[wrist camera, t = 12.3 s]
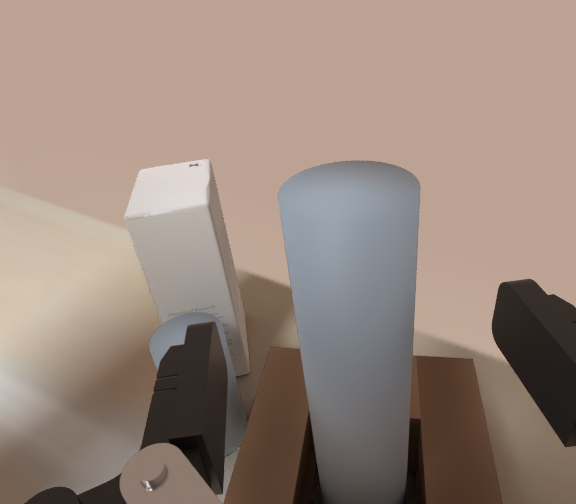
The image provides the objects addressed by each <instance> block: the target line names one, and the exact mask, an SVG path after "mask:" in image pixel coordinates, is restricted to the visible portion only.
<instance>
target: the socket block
mask: <svg viewBox="0 0 576 504" xmlns="http://www.w3.org/2000/svg"><path fill="white" fill-rule="evenodd" d="M316 461H317V460H316V453H315V446H314V439H313V433H312V426H311V419H310V412H309V406H308V399H307V392H306V385H305V379H304V372H303V365H302V358H301V352H300V349H292V348H274V347H270V350H269V353H268V356H267V360H266V363H265V366H264V370H263V373H262V376H261V380H260V383H259V386H258V390H257V393H256V396H255V400H254V403H253V406H252V410H251V413H250V416H249V420H248V423H247V427H246V430H245V433H244V437H243V440H242V443H241V447H240V450H239V453H238V457H237V460H236V463H235V467H234V470H233V473H232V477H231V480H230V483H229V487H228V490H227V493H226V497H225V500H224V503H223V504H310V497H311V490H312V483H313V476H314V469H315V462H316ZM407 471H412V472H416V478H417V497H418V504H503V502H502V498H501V493H500V488H499V483H498V478H497V474H496V469H495V464H494V459H493V454H492V450H491V445H490V440H489V435H488V430H487V425H486V421H485V416H484V411H483V406H482V401H481V397H480V392H479V387H478V382H477V377H476V373H475V368H474V363H473V359H463V358H446V357H429V356H412V377H411V398H410V420H409V441H408V462H407Z"/></svg>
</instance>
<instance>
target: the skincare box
mask: <svg viewBox="0 0 576 504" xmlns="http://www.w3.org/2000/svg"><path fill="white" fill-rule="evenodd" d="M124 221H125V223H126V226H127V229H128V232H129V234H130V237H131V240H132V243H133V245H134V248H135V251H136V253H137V256H138V259H139V262H140V264H141V267H142V270H143V273H144V276H145V278H146V281H147V284H148V287H149V289H150V292H151V295H152V298H153V300H154V303H155V306H156V309H157V311H158V314H159V317H160V319H161V322H162V324H164V323H165V322H166V321H168V320H170V319H172V318H174V317H176V316H179V315H182V314H186V313H191V312H203V313H208V314H211V315H213V316H215V317H216V318H218V319H219V320H220V322H221V323H222V326H223V330H224V334H225V337H226V341H227V345H228V349H229V353H230V357H231V361H232V365H233V369H234V373H235V376H241V375H245V374H249V373H250V363H249V352H248V342H247V332H246V322H245V312H244V307H243V302H242V298H241V293H240V289H239V284H238V280H237V276H236V271H235V267H234V263H233V258H232V254H231V250H230V245H229V241H228V236H227V231H226V227H225V223H224V218H223V214H222V209H221V205H220V200H219V195H218V190H217V186H216V182H215V177H214V173H213V169H212V165H211V161H210V160H209V159H205V160H197V161H191V162H184V163H178V164H171V165H165V166H158V167H152V168H147V169H142V170H140V171H139V173H138V176H137V179H136V182H135V185H134V188H133V191H132V195H131V198H130V201H129V203H128V207H127V210H126V212H125V215H124Z"/></svg>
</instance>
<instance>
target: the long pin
mask: <svg viewBox="0 0 576 504" xmlns="http://www.w3.org/2000/svg"><path fill="white" fill-rule="evenodd" d="M278 203H279V210H280V217H281V223H282V230H283V237H284V244H285V251H286V257H287V264H288V271H289V278H290V284H291V291H292V298H293V305H294V311H295V318H296V325H297V332H298V338H299V345H300V352H301V358H302V365H303V372H304V379H305V385H306V392H307V399H308V406H309V412H310V419H311V426H312V433H313V439H314V446H315V453H316V460H317V466H318V473H319V480H320V487H321V493H322V500H323V504H406V484H407V462H408V441H409V420H410V398H411V377H412V356H413V334H414V312H415V291H416V270H417V247H418V227H419V206H420V183H419V181H418V179H417V178H416V177H415V176H414V175H413V174H412V173H410V172H409V171H407V170H405V169H403V168H401V167H398V166H395V165H391V164H387V163H382V162H374V161H342V162H334V163H328V164H324V165H320V166H316V167H313V168H310V169H307V170H304V171H302V172H300V173H298V174H296V175H294V176H292V177H291V178H289V179H288V180H287V181H286V182H285V183H284V184H283V185H282V186H281V188H280V189H279V192H278Z"/></svg>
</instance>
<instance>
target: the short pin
mask: <svg viewBox="0 0 576 504" xmlns="http://www.w3.org/2000/svg"><path fill="white" fill-rule="evenodd" d="M212 321H215V323H216V325H217V328H218V332H219V336H220V340H221V344H222V347H223V351H224V355H225V359H226V364H227V372H228V390H227V412H226V435H225V456H227V455H229V454H231V453H232V452H234V451H235V450H236V449H237V448H238V447H239V446H240V445H241V443H242V440H243V437H244V433H245V430H246V427H247V419H246V415H245V412H244V408H243V404H242V400H241V396H240V392H239V388H238V384H237V380H236V376H235V373H234V369H233V365H232V361H231V357H230V353H229V349H228V345H227V341H226V337H225V334H224V330H223V326H222V323H221V322H220V320H219V319H218V318H216V317H215V316H213V315H211V314H208V313H203V312H191V313H186V314H182V315H179V316H176V317H174V318H172V319H170V320H168V321H166V322H165V323H164V324H162V325H161V326H160V327H159V328H158V329H157V330H156V331H155V332H154V334H153V335H152V337H151V339H150V343H149V350H150V353H151V356H152V358H153V361H154V363H155V366H156V369H157V371H158V368H159V364H160V361H161V359H162V358H163V356H164V355H165V354H166V352H167V351H168V349H169V348H170V346H175V345H182V344H184V342H185V336H186V330H187V326H188V325H190V324H198V323H205V322H212Z"/></svg>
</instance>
